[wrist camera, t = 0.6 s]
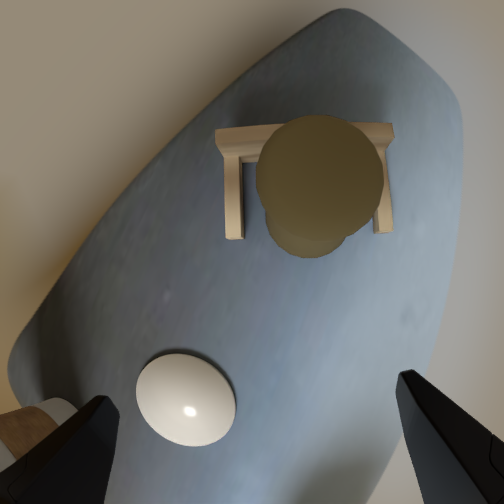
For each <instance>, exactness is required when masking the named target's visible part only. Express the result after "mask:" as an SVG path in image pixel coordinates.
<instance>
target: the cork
mask: <svg viewBox="0 0 504 504" xmlns="http://www.w3.org/2000/svg"><path fill="white" fill-rule="evenodd" d="M383 187H384V174H383V165H382V161H381V159H380V157H379V154H378V152H377V150H376V148H375V146H374V144H373V143H372V142H371V141H370V140H369V139H368V137H367V136H366V135H365V134H364V133H363V132H362V131H361V130H360V129H358V128H357V127H355V126H353V125H352V124H350V123H349V122H347V121H345V120H342V119H339V118H336V117H332V116H329V115H307V116H303V117H300V118H296V119H293V120H290V121H289V122H287V123H286V124H284V125H283V126H281V127H280V128H278V129H277V130H275V131H274V133H273V134H272V135H271V137H270V138H269V139H268V140H267V142H266V143H265V144H264V146H263V148H262V150H261V153H260V156H259V159H258V162H257V165H256V188H257V191H258V194H259V197H260V200H261V203H262V205H263V207H264V209H265V211H266V224H267V227H268V230H269V233H270V235H271V237H272V238H273V239H274V241H275V242H276V243H277V245H278V246H279V247H281V248H282V249H283V250H285V251H286V252H288V253H289V254H292V255H295V256H298V257H301V258H318V257H321V256H324V255H327V254H329V253H331V252H332V251H334V250H335V249H336V248H337V247H339V246H340V245H341V244H342V242H343V241H344V239H345V238H346V236H349V235H352V234H354V233H355V232H356V231H358V230H359V229H360V228H361V227H363V226H364V225H365V224H366V223H368V222H369V221H370V219H371V217H372V216H373V214H374V213H375V211H376V210H377V208H378V206H379V204H380V200H381V196H382V192H383Z"/></svg>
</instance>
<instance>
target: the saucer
mask: <svg viewBox="0 0 504 504" xmlns="http://www.w3.org/2000/svg"><path fill="white" fill-rule="evenodd" d="M136 396H137V402H138V406H139V408H140V411H141V413H142V415H143V417H144V418H145V420H146V421H147V422H148V424H149V425H150V426H151V427H152V428H153V429H154V430H155V431H156V432H158V433H159V434H160V435H162V436H163V437H165V438H166V439H168V440H170V441H172V442H175V443H178V444H181V445H186V446H204V445H208V444H211V443H214V442H216V441H218V440H219V439H220V438H222V437H223V436H224V435H225V434H226V433H227V432H228V430H229V429H230V427H231V425H232V423H233V421H234V417H235V412H236V402H235V397H234V394H233V391H232V389H231V386H230V385H229V383H228V381H227V380H226V379H225V377H224V376H223V375H222V374H221V373H220V372H219V371H218V370H217V369H216V368H215V367H214V366H212V365H211V364H209V363H208V362H206V361H204V360H202V359H200V358H198V357H195V356H192V355H188V354H180V353H176V354H167V355H164V356H161V357H159V358H157V359H155V360H153V361H152V362H150V363H149V364H148V365H147V366H146V367H145V368H144V369H143V371H142V372H141V374H140V376H139V378H138V381H137V386H136Z"/></svg>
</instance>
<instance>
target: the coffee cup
mask: <svg viewBox="0 0 504 504" xmlns="http://www.w3.org/2000/svg"><path fill="white" fill-rule="evenodd" d="M77 411H78V410H77V409H76V408H75V407H74V406H73V405H72V404H70V403H69V402H68V401H66V400H64V399H61V398H51V399H48V400H45V401H43V402H40V403H37V404H35V405H32V406H28V407H24V408H21V409H18V410H15V411H11V412H8V413H5V414H1V415H0V472H1V471H3V470H4V469H6V468H7V467H9V466H10V465H12V464H13V463H14V462H16V461H17V460H18V459H19V458H21V457H22V456H23V455H24V454H26V453H28V451H29V450H31V449H32V448H33V447H34V446H36V445H37V444H38V443H39V442H40V441H42V440H43V439H44V438H45V437H47V436H48V435H49V434H50V433H51V432H53V431H54V430H55V429H56V428H58V427H59V426H60V425H61V424H62V423H64V422H65V421H66V420H67V419H69V418H70V417H71V416H72V415H73V414H75V413H76V412H77Z"/></svg>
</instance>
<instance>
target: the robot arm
mask: <svg viewBox="0 0 504 504" xmlns="http://www.w3.org/2000/svg"><path fill="white" fill-rule="evenodd" d="M396 399H397V403H398V408H399V413H400V417H401V422H402V427H403V432H404V437H405V441H406V445H407V448H408V451H409V454H410V457H411V460H412V464H413V467H414V470H415V473H416V477H417V480H418V483H419V487H420V490H421V494H422V498H423V501H424V504H504V442H503V441H501V440H500V439H499V438H498V437H497V436H495V435H494V434H492V433H491V432H490V431H489V430H488V429H486V428H485V427H484V426H483V425H482V424H480V423H479V422H478V421H477V420H475V419H474V418H473V417H472V416H471V415H469V414H468V413H467V412H466V411H464V410H463V409H462V408H461V407H459V406H458V405H457V404H456V403H454V402H453V401H452V400H451V399H449V398H448V397H447V396H446V395H444V394H443V393H442V392H441V391H440V390H438V389H437V388H436V387H434V386H433V385H432V384H431V383H430V382H428V381H427V380H426V379H425V378H423V377H422V376H421V375H420V374H418V373H417V372H416V371H415V370H412V369H410V370H406V371H402V372H400V373H399V375H398V381H397V386H396ZM119 419H120V414H119V411H118V409H117V408H116V406H115V405H114V404H113V402H112V401H111V399H110V398H109V397H108V396H104V395H97V396H95V397H94V398H93V399H92V400H90V401H89V402H88V403H87V404H85V405H84V406H83V407H82V408H81V409H79V410H78V411H77V412H76V413H75V414H73V415H72V416H71V417H70V418H69V419H67V420H66V421H65V422H64V423H62V424H61V425H60V426H59V427H58V428H56V429H55V430H54V431H53V432H51V433H50V434H49V435H48V436H47V437H45V438H44V439H43V440H42V441H40V442H39V443H38V444H37V445H36V446H34V447H33V448H32V449H31V450H29V451H28V453H26V454H24V455H23V456H22V457H21V458H19V459H18V460H17V461H16V462H14V463H13V464H12V465H10V466H9V467H7V468H6V469H4V470H3V471H1V472H0V504H104V500H105V495H106V491H107V486H108V481H109V477H110V472H111V468H112V464H113V459H114V455H115V448H116V440H117V433H118V426H119Z"/></svg>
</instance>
